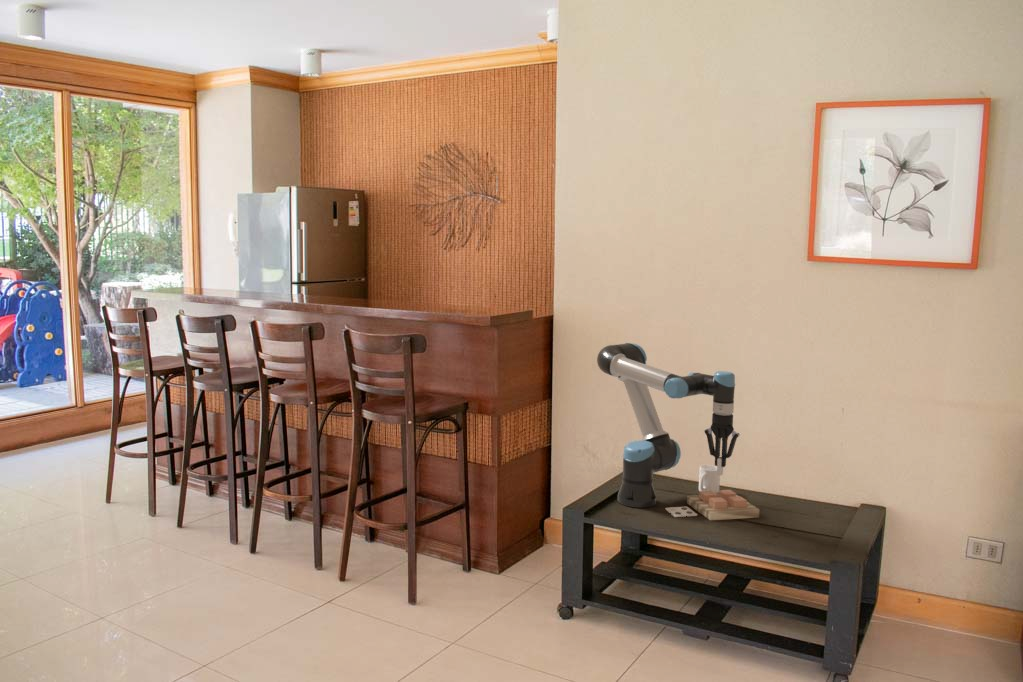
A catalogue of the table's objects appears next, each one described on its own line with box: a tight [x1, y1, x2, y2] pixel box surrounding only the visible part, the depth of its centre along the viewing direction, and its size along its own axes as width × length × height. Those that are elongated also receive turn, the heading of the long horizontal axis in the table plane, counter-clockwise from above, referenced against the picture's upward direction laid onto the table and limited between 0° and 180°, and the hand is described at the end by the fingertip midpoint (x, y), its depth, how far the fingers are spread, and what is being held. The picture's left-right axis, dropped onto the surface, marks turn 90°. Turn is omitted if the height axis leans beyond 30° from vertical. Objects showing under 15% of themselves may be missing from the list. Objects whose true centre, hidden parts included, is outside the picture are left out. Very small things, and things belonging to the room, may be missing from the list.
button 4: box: [728, 495, 748, 508], centre depth 313 cm, size 5×5×4 cm
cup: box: [698, 464, 721, 494], centre depth 337 cm, size 8×12×10 cm
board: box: [686, 494, 760, 521], centre depth 317 cm, size 20×20×3 cm
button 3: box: [718, 489, 737, 501], centre depth 321 cm, size 5×5×4 cm
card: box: [664, 506, 698, 518], centre depth 313 cm, size 9×9×1 cm
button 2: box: [709, 497, 727, 509], centre depth 312 cm, size 5×5×4 cm
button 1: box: [698, 491, 717, 502], centre depth 319 cm, size 5×5×4 cm
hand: (719, 474), depth 310 cm, fingers closed
